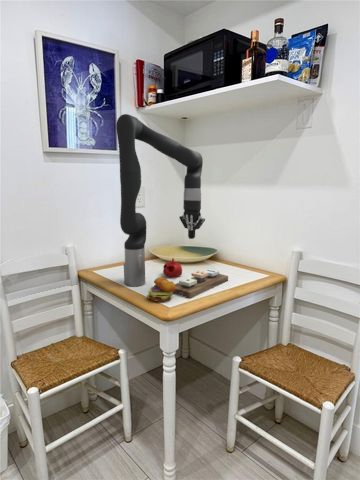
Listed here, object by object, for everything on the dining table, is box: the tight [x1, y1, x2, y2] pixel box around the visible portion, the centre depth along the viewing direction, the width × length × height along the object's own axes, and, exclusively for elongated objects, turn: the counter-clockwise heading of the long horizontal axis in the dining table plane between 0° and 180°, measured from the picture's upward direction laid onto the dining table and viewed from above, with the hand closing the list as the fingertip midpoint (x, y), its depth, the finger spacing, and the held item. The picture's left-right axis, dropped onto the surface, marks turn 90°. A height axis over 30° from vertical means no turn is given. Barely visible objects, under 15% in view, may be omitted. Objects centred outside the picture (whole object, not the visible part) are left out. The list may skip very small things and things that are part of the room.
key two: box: [191, 270, 209, 283], centre depth 153 cm, size 6×6×4 cm
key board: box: [173, 273, 229, 299], centre depth 153 cm, size 12×30×2 cm, turn 141°
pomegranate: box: [162, 257, 183, 279], centre depth 168 cm, size 10×10×9 cm
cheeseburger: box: [146, 276, 176, 303], centre depth 138 cm, size 10×11×10 cm
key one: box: [178, 277, 197, 288], centre depth 146 cm, size 6×6×4 cm
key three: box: [203, 268, 220, 278], centre depth 160 cm, size 6×6×4 cm
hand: (191, 238), depth 146 cm, fingers closed
